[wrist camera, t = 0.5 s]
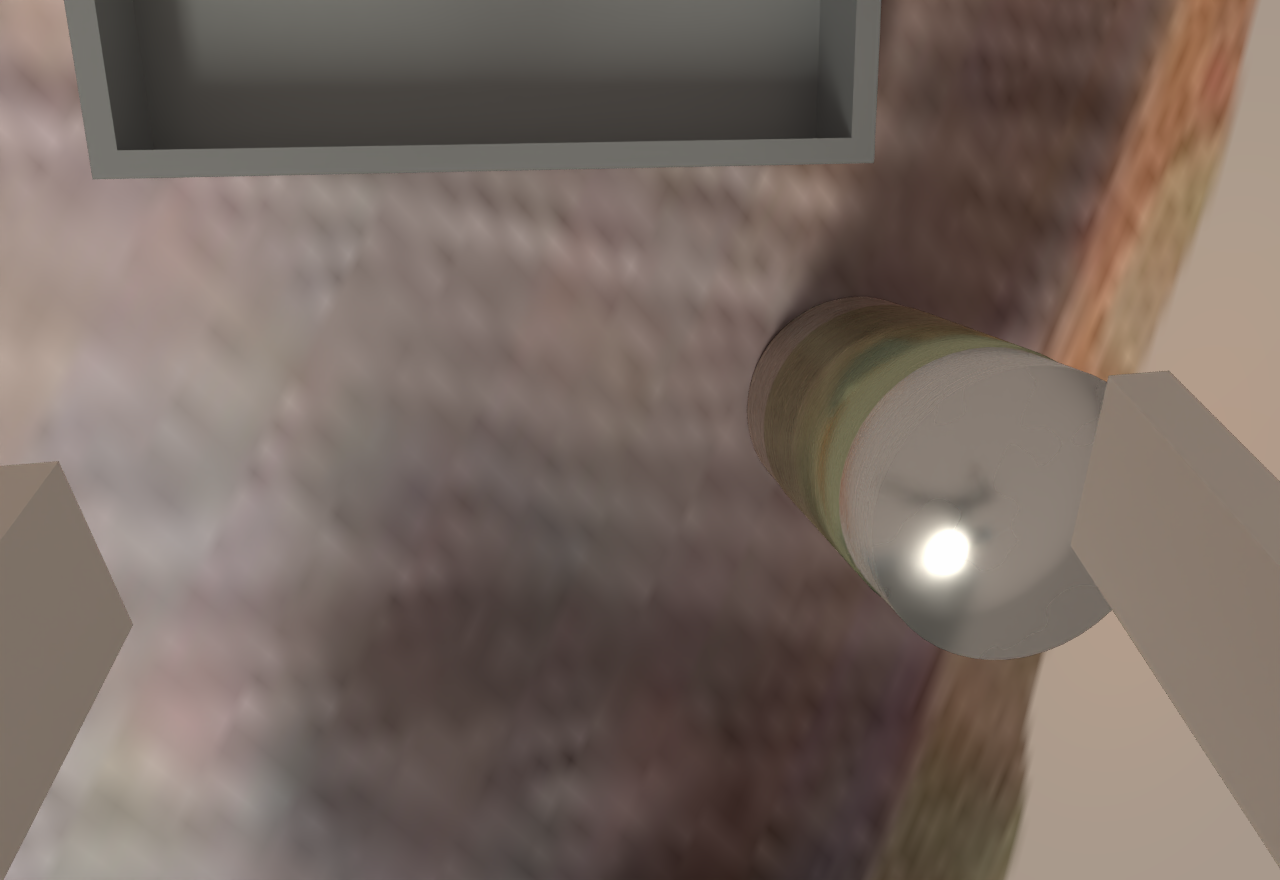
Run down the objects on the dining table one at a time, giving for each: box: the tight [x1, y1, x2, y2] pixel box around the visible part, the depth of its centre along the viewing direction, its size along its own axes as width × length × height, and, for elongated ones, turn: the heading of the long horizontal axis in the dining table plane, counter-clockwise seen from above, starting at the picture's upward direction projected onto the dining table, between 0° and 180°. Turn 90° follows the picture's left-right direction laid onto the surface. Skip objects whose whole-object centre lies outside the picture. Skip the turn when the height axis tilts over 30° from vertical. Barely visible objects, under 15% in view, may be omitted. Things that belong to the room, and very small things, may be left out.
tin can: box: [747, 297, 1112, 660], centre depth 26 cm, size 6×6×10 cm
